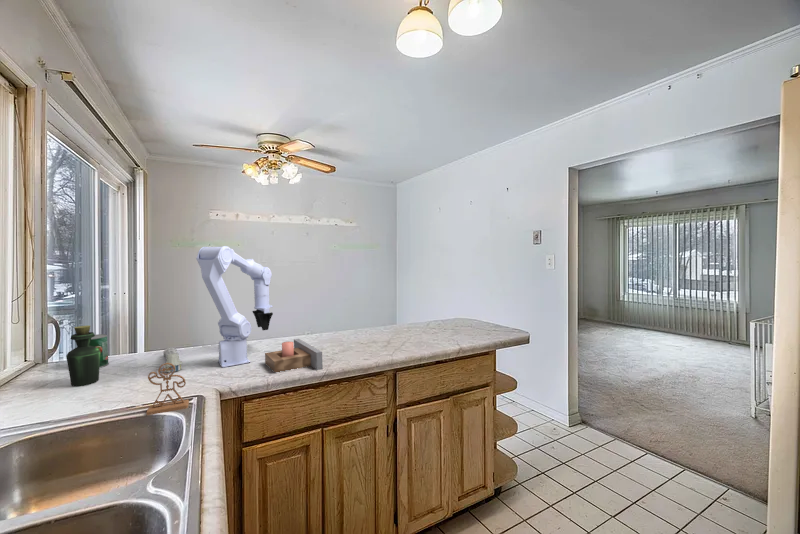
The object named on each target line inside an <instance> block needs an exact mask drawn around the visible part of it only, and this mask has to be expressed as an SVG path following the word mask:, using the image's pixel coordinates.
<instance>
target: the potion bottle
mask: <svg viewBox="0 0 800 534" xmlns="http://www.w3.org/2000/svg"><path fill="white" fill-rule="evenodd" d="M73 329H74V332H75V334H72V335H71V336H70V341H71V340H73V341H74V342H75V345H76V347H75V348H73V349H72V350H71V349H70V350H69V351H68V352H67V354H66V363H67V369H68V373H69V381H70V385H71V386H72V387H75V388H77V387H78V388H79V387H85V386H89V385H92V384H95V383H97V382H98V381H99V380H100V352H101V351H100V350H99V348H97V347H94V346H90V345H89V344H90V341H91V338H92V337H94V336H95V335H96V334H95V333H94V332H92V331H90V330H91V325H79V326H75V327H74V328H73Z"/></svg>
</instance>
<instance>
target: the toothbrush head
mask: <svg viewBox="0 0 800 534" xmlns="http://www.w3.org/2000/svg"><path fill="white" fill-rule="evenodd" d="M162 353H163V355H162V356H163V358H165V359H166V362H165V363H171V364H173V365H174V366H175V372H178V371H181V370H182V364H183V360H180V355H179V353H178V350H177V349H176V348H174V347H166V349H165V350H164V351H163V352H162ZM163 366H164V367H163V368H166V369H168V368H169V367H171V368H173V367H172V366H171V365H168V364H167V365H163ZM171 371H172V372H171ZM173 371H174V369H171V370H170V371H168V370H165V373H170V372H171V373H173Z"/></svg>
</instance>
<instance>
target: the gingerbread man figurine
mask: <svg viewBox="0 0 800 534" xmlns="http://www.w3.org/2000/svg"><path fill="white" fill-rule="evenodd" d="M167 364H168V365H171V366H172V367H173V368H171V367H169V368H168V369H166V368H165V367H163V366H164V365H167ZM162 367H163V368H162ZM161 368H162V369H161ZM171 369H174V371H173V372H172V371H171V372H168V371H170V370H171ZM166 370H168V371H167V372H166ZM175 372H176V371H175V366H174V365H173V364H171V363H166V362H164V363H163V364H161V365H160V366H159V368H158V373H157V372H156V371H151V372H149V373H148V375H147V378H148V381H149V383H151V384H153V385H156V386H159V387H160V389H159V391H160V393H159V394H158V396H157V397H156V399H155V401H154V403H153V404H152V405H149V407H148V408H147V410H146V412H145V413H146V416H151V415H156V414H163V413H168V412H173V411H179V410H180V411H181V410H186V409H188V408H189V405H190V400H189V399H183V397H182V396H181V395H180V394H179V393H178V391H177V390H176V388H175V384H176V386H177V388H180V389H181V388H184V387H185V386H186V382H187V381H186V378H184V376H182V375H179V374H175ZM152 374H154V375H153V376H150V375H152ZM158 375H159V376H158ZM173 377H174V378H175V377H177V378H178V377H179V378H181V380H182V381H181V380H180V381H179V382H178V380H177V381H176V380H175V381H172V388H169V387H170V385H169V381H171V380H172V378H173ZM154 378H156V379H162V380H163V382H165V384H166V386H165V388H164V389H163V382H158V383H157V382H154V381H153V380H152V379H154ZM181 384H183V385H181ZM170 391H171V392H172V391H173V392H174V394H175V395H177V397H176V398H175V399H173V397H172V396H171V395H170V393H167V394H166V396H165V398H164V400H163V401H160V400H158V399H159V397H160V396H161V394H162V393H163V392H170ZM167 398H169V400H170V402H165V401H166V399H167Z"/></svg>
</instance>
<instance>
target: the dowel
mask: <svg viewBox="0 0 800 534" xmlns="http://www.w3.org/2000/svg"><path fill="white" fill-rule="evenodd" d="M281 350H282V357H288V356H293V355H294V341H284V342H283V341H282V343H281Z"/></svg>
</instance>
